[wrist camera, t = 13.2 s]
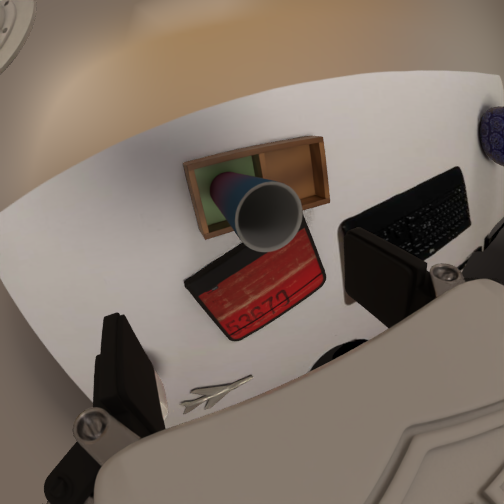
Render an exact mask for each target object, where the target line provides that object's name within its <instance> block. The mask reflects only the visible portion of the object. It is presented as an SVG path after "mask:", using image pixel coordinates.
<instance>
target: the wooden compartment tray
mask: <svg viewBox="0 0 504 504" xmlns="http://www.w3.org/2000/svg"><path fill="white" fill-rule="evenodd" d="M183 166H184V170H185V174H186V179H187V183H188V187H189V191H190V195H191V199H192V203H193V207H194V211H195V215H196V218H197V222H198V226H199V230H200V232H201V234H202V235H203V237H204V239H205V240H206V239H209V238H212V237H216V236H219V235H222V234H225V233H229V232H232V231H234V230H233V228H232V227H231V226H230V224H229V223H228V221H227V220H226V218H225V217H224V216H223V214H222V213H221V211H220V210H219V208H218V207H217V206H216V204H215V203H214V201H213V200H212V198H211V195H210V185H211V183H212V181H213V179H214V178H215V177H216V176H217V175H219V174H221V173H223V172H234V173H239V174H244V175H249V176H254V177H259V178H263V179H268V180H272V181H277V182H281V183H284V184H286V185H288V186H289V187H291V188H292V189H293V190H294V191H295V192H296V194H297V195H298V197H299V199H300V201H301V204H302V211H303V210H306V209H310V208H313V207H317V206H320V205H324V204H327V203H330V195H329V184H328V175H327V166H326V157H325V149H324V141H323V137H321V136H305V137H298V138H293V139H287V140H281V141H276V142H270V143H265V144H260V145H255V146H250V147H246V148H241V149H236V150H232V151H228V152H223V153H219V154H215V155H211V156H207V157H203V158H199V159H195V160H191V161H188V162H184V163H183Z"/></svg>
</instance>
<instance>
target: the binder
mask: <svg viewBox="0 0 504 504" xmlns="http://www.w3.org/2000/svg"><path fill="white" fill-rule="evenodd" d="M325 281H326V274H325V269H324V268H323V265H322V262H321V260H320V257H319V254H318V251H317V249H316V246H315V243H314V241H313V238H312V236H311V233H310V231H309V228H308V226H307V223H306V221H305V218H304V216H302V222H301V225H300V228H299V230H298V232H297V234H296V235H295V236H294V238H293V239H292V240H291V241H290V242H289V243H288V244H287V245H285V246H284V247H282V248H280V249H278V250H276V251H271V252H259V251H255V250H252V249H250V248H249V247H247V246H246V245H245V244H244V243H242V244H240V245H239V246H237V247H236V248H234V249H233V250H231V251H230V252H228V253H227V254H225V255H224V256H222V257H221V258H219V259H218V260H216V261H215V262H213V263H212V264H210V265H209V266H207V267H206V268H204V269H203V270H201V271H199V272H198V273H197V274H195V275H194V276H192V277H191V278H189V279H187V280H186V281H184V284H185V287H186V289H188V290H189V292H190V293H191V294H192V296H193V297H194V298H195V299H196V301H197V302H198V303H199V304H200V306H201V307H202V308H203V309H204V310H205V312H206V313H207V314H208V315H209V316H210V318H211V319H212V320H213V321H214V322H215V324H216V325H217V326H218V327H219V328H220V329H221V331H222V332H223V333H224V334H225V335H226V337H227V338H228V339H229V340H231V341H239V340H242V339H244V338H245V337H247V336H249V335H251V334H252V333H254V332H256V331H258V330H259V329H261V328H263V327H264V326H266V325H267V324H269V323H271V322H272V321H274V320H275V319H277V318H278V317H280V316H281V315H283V314H284V313H286V312H287V311H289V310H290V309H292V308H293V307H295V306H296V305H298V304H299V303H300V302H302V301H303V300H305V299H306V298H307V297H309V296H310V295H312V294H313V293H314V292H316V291H317V290H318V289H319V288H321V287H322V286H323V284H324V283H325Z"/></svg>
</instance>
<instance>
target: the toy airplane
mask: <svg viewBox="0 0 504 504" xmlns="http://www.w3.org/2000/svg"><path fill="white" fill-rule="evenodd" d="M253 377H254V376H250V377H247V378H244V379H242V380H240V381H237V382H235V383H233V384H231V385H226V386H219V387H212V388H205V389H197V390H194V391H192V392H190V393H193V394H199V395H205V396H204V397H201V398H199V399H197V400H195V401H193V402H184V403H182V404H179V405H185V407H186V409H185V411H184V413H183V414H186V413H188V412H190V411H191V410H193V409H194V408H196V407H197V406H198V405H200V404H201V403H203V402H204V401H206V400H208V403H207V405H206V408H205V410H206V409H209V408H211V407H212V406H214V405H215V404H216V403H217V402H218V401H219V400H220V399H222V398H223V397H224V396H225V395H226V394H227V393H229V392H230V391H231V390H233V389H235V388H237V387H238V386H240V385H242V384H244V383H246V382H247V381H249V380H251V379H252V378H253ZM179 410H180V409H179Z"/></svg>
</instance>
